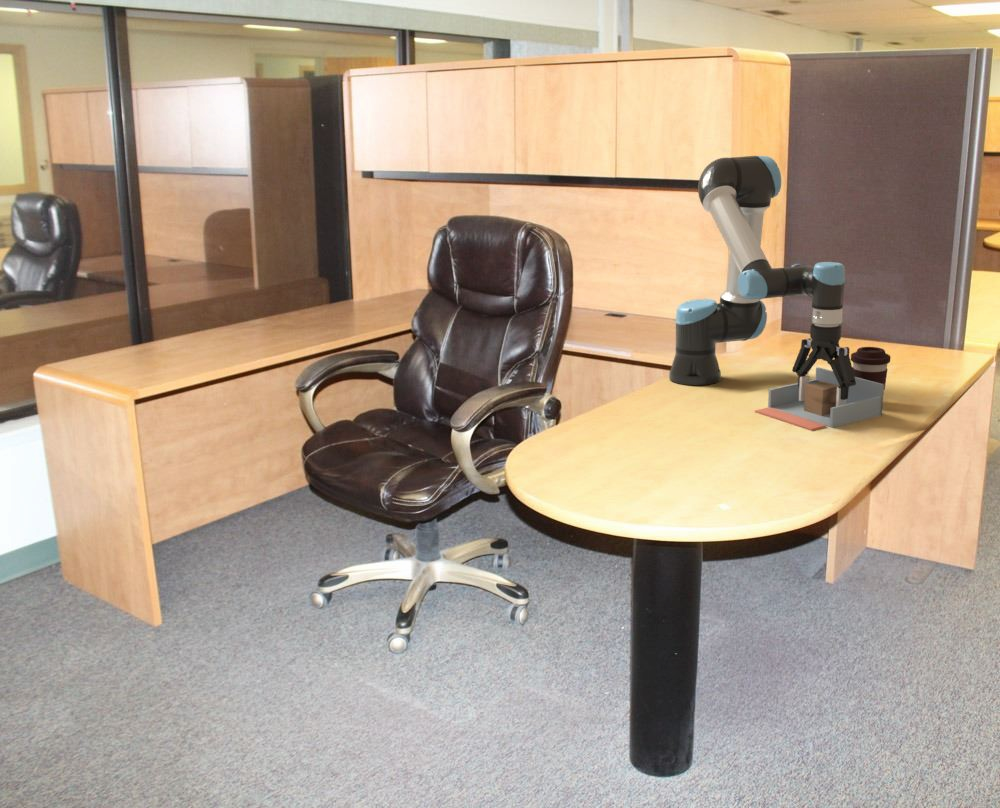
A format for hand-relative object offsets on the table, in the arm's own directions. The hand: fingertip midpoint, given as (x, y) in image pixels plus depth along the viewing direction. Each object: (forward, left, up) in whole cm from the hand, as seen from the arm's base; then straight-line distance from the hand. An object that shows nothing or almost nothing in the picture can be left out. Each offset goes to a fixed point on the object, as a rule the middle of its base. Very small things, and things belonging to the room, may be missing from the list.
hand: (821, 405), depth 264 cm
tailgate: (0, -9, -2) cm, 9 cm away
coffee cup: (-1, +18, -3) cm, 18 cm away
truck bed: (0, +1, -3) cm, 3 cm away
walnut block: (0, 0, -2) cm, 2 cm away
